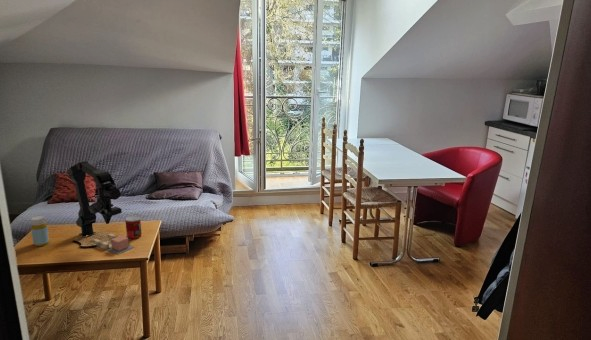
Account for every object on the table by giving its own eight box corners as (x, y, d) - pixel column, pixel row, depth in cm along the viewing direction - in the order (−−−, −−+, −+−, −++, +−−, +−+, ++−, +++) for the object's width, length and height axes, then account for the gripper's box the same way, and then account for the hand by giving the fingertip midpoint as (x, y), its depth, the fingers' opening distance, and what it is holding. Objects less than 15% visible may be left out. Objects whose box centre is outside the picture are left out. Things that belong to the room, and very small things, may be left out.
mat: (107, 250, 214) (107, 249, 214) (124, 243, 222) (124, 243, 222) (117, 254, 209) (117, 253, 209) (134, 247, 218) (134, 246, 218)
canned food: (136, 239, 227) (135, 221, 224) (123, 238, 228) (122, 220, 226) (144, 234, 234) (143, 216, 231) (131, 233, 236) (130, 215, 233)
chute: (93, 244, 220) (92, 239, 219) (110, 238, 228) (109, 233, 228) (106, 250, 214) (106, 245, 213) (123, 243, 222) (123, 238, 222)
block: (111, 248, 215) (110, 239, 214) (121, 244, 220) (121, 235, 218) (119, 251, 212) (118, 242, 210) (129, 246, 217) (128, 238, 215)
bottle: (52, 242, 221) (48, 216, 217) (39, 247, 215) (35, 221, 211) (43, 240, 224) (39, 214, 220) (31, 245, 218) (26, 218, 214)
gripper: (79, 196, 212) (82, 224, 216) (101, 203, 203) (104, 232, 207) (99, 191, 221) (102, 218, 225) (121, 197, 212) (123, 225, 216)
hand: (107, 223), depth 218 cm, fingers closed
